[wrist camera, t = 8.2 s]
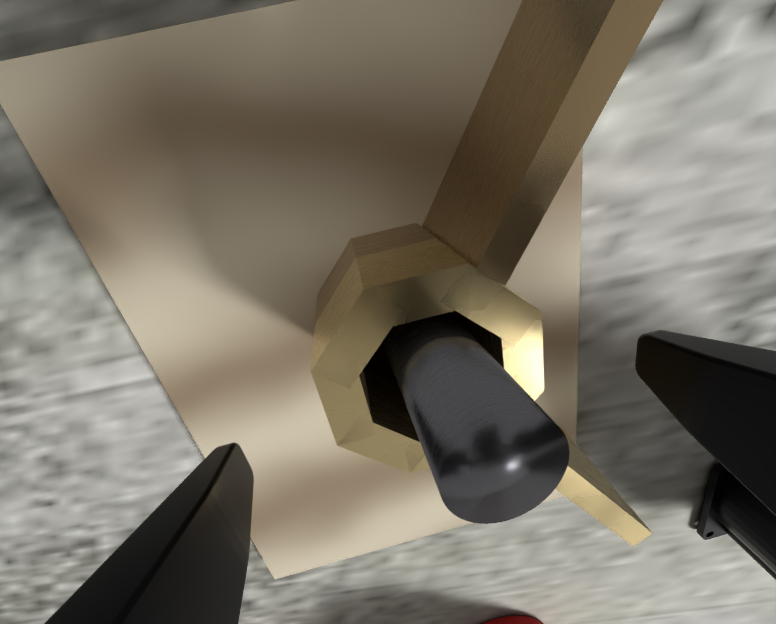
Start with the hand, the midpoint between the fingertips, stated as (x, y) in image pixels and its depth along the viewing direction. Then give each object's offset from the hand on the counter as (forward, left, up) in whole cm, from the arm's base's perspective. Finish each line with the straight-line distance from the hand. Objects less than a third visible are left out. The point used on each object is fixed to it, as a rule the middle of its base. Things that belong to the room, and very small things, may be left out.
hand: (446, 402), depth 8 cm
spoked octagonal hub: (0, -2, -6) cm, 6 cm away
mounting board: (-2, +1, -7) cm, 7 cm away
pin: (0, 0, -6) cm, 6 cm away
